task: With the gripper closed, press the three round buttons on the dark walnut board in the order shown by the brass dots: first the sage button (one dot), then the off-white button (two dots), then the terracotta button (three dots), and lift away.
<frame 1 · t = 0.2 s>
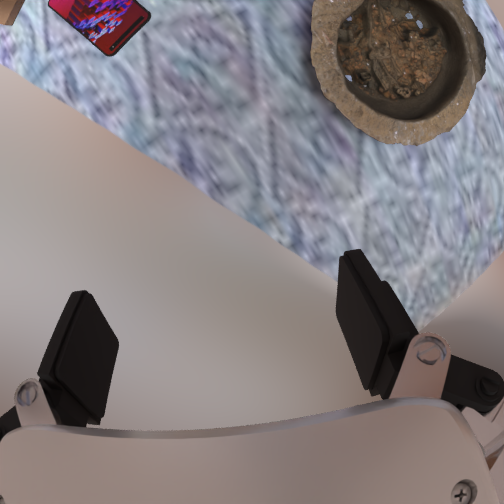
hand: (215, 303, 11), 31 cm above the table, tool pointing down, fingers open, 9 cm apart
stone bowl: (383, 52, 32), on the table
smartphone: (97, 7, 25), on the table
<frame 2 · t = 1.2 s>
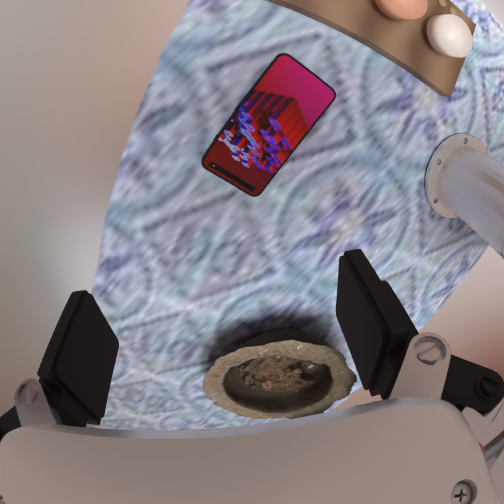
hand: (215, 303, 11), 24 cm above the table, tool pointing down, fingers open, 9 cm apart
off-white button: (450, 35, 20), point 4 cm above the table, slide at 0.0 cm
stone bowl: (273, 356, 52), on the table
button board: (380, 3, 22), on the table
smartphone: (267, 124, 30), on the table
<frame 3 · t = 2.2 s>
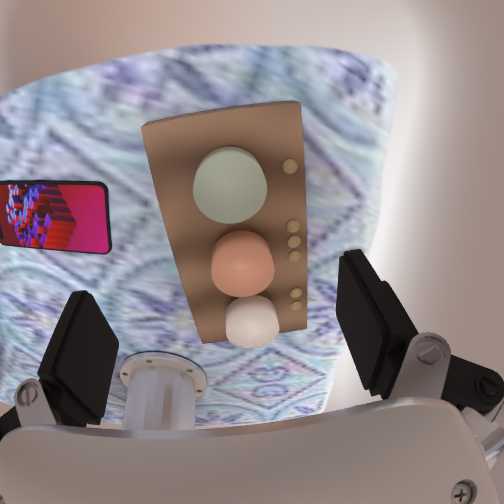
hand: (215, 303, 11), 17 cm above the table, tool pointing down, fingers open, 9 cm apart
off-white button: (251, 322, 29), point 4 cm above the table, slide at 0.0 cm
sage button: (229, 184, 21), point 4 cm above the table, slide at 0.0 cm
terracotta button: (242, 264, 25), point 4 cm above the table, slide at 0.0 cm
button board: (238, 237, 29), on the table
smartphone: (47, 213, 26), on the table
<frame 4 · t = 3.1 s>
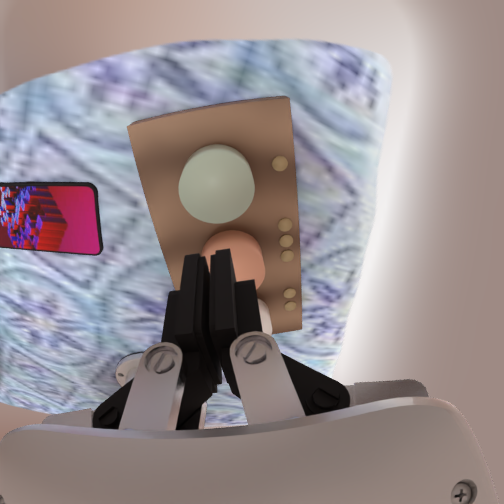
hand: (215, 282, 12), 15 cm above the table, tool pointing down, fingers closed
off-white button: (244, 323, 29), point 4 cm above the table, slide at 0.0 cm
sage button: (216, 183, 21), point 4 cm above the table, slide at 0.0 cm
terracotta button: (232, 264, 25), point 4 cm above the table, slide at 0.0 cm
button board: (230, 236, 28), on the table
smartphone: (38, 214, 25), on the table
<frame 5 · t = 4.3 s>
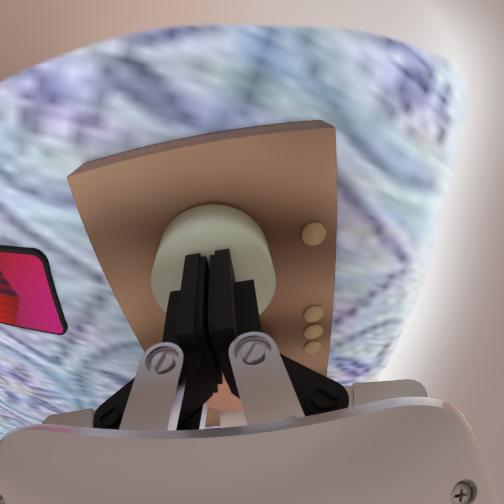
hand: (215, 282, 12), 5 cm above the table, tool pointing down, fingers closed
off-white button: (253, 422, 20), point 4 cm above the table, slide at 0.0 cm
sage button: (213, 269, 13), point 4 cm above the table, slide at 0.7 cm
terracotta button: (239, 374, 16), point 4 cm above the table, slide at 0.0 cm
button board: (234, 320, 20), on the table
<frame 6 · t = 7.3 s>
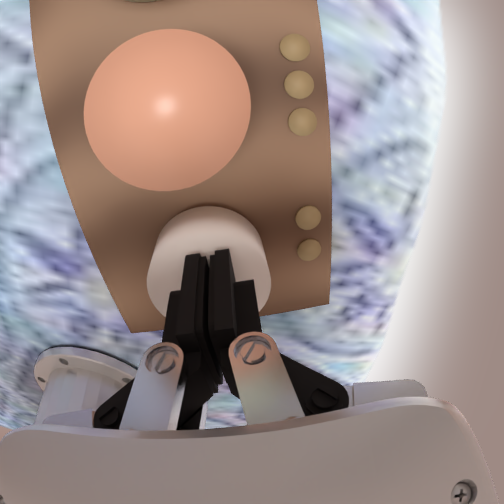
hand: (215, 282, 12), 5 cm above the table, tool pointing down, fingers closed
off-white button: (208, 271, 13), point 4 cm above the table, slide at 0.6 cm
terracotta button: (169, 107, 9), point 4 cm above the table, slide at 0.0 cm
button board: (183, 97, 12), on the table
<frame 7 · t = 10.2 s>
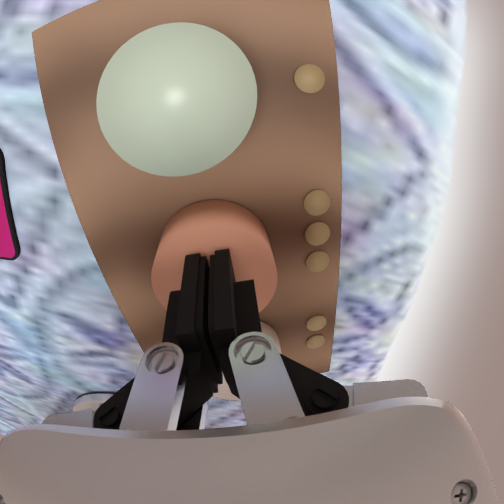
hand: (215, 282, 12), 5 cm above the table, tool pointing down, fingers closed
off-white button: (239, 362, 17), point 3 cm above the table, slide at 1.0 cm
sage button: (178, 96, 9), point 3 cm above the table, slide at 1.0 cm
terracotta button: (214, 265, 13), point 3 cm above the table, slide at 1.0 cm, touching gripper
button board: (214, 227, 16), on the table
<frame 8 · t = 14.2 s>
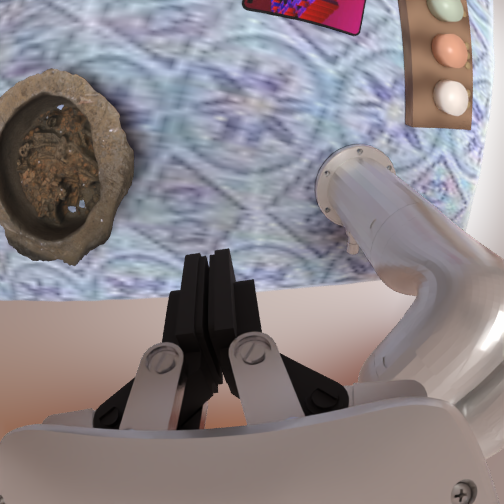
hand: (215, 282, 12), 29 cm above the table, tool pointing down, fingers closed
off-white button: (451, 97, 31), point 3 cm above the table, slide at 1.0 cm
sage button: (445, 5, 23), point 3 cm above the table, slide at 1.0 cm
terracotta button: (450, 50, 27), point 3 cm above the table, slide at 1.0 cm
stone bowl: (63, 154, 35), on the table
button board: (435, 49, 30), on the table
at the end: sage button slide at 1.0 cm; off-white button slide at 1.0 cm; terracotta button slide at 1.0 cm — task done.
